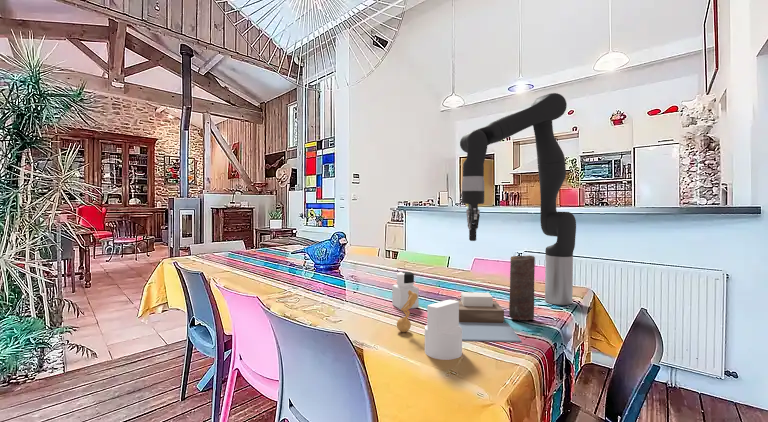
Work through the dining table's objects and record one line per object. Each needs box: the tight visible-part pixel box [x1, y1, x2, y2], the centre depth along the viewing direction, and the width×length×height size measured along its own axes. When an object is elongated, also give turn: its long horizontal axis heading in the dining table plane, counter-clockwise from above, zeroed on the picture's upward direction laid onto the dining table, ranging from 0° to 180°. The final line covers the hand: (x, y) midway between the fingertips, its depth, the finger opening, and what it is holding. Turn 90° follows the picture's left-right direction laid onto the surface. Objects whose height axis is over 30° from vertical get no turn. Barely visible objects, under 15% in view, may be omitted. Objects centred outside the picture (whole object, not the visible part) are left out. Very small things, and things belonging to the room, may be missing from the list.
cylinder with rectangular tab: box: [424, 299, 463, 361], centre depth 96 cm, size 9×9×12 cm
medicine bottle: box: [391, 271, 420, 311], centre depth 139 cm, size 7×7×12 cm
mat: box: [459, 322, 522, 343], centre depth 111 cm, size 15×16×1 cm
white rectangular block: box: [460, 291, 494, 307], centre depth 127 cm, size 6×9×3 cm, turn 86°
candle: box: [508, 255, 536, 321], centre depth 122 cm, size 8×7×20 cm
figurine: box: [396, 290, 417, 333], centre depth 111 cm, size 8×6×12 cm
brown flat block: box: [454, 299, 505, 323], centre depth 125 cm, size 12×14×4 cm
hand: (472, 240), depth 135 cm, fingers closed
